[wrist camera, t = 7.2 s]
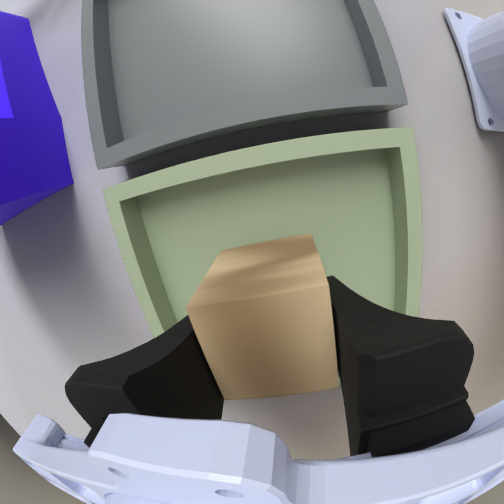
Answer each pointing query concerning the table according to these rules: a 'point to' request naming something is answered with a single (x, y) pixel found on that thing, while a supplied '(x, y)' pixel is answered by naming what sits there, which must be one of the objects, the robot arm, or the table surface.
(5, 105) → the bracket
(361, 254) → the olive bin
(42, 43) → the table surface
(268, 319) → the oak block
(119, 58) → the charcoal bin
